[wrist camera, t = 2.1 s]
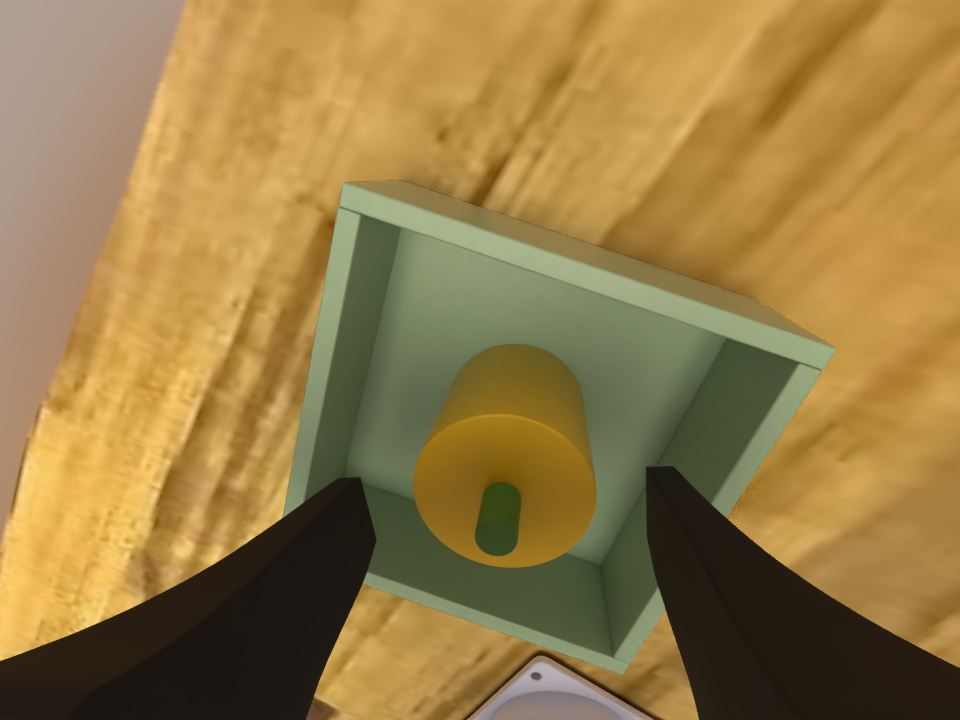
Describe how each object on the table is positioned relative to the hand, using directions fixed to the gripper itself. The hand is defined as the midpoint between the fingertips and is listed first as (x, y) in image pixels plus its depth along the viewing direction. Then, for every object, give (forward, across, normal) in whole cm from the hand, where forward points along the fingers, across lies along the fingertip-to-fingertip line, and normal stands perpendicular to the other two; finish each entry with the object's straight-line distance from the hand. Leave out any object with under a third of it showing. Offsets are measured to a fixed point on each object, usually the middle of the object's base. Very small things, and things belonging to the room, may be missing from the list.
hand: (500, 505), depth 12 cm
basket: (+6, 0, 0) cm, 6 cm away
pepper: (+6, 0, 0) cm, 6 cm away
